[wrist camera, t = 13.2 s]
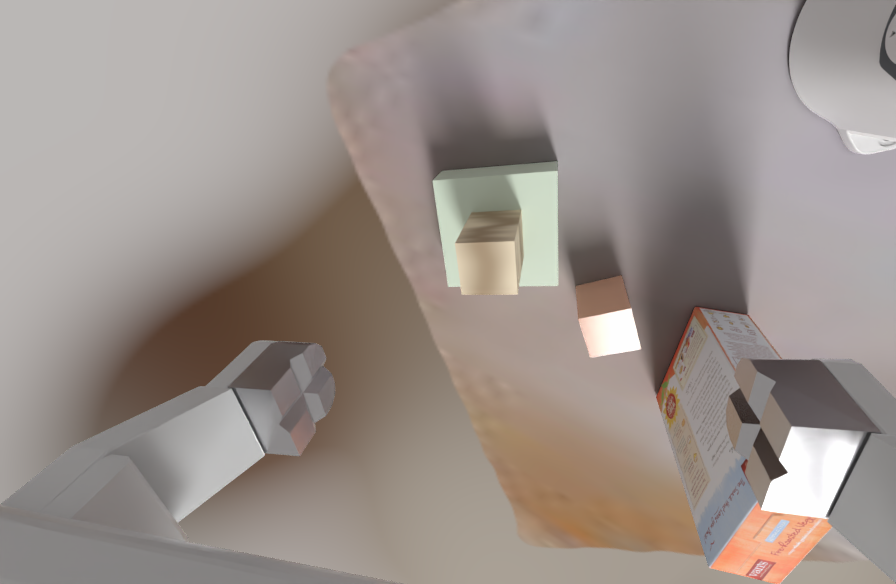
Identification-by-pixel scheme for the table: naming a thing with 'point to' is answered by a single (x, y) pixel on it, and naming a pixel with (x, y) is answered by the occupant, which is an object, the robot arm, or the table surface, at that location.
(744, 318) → the cracker box
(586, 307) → the terracotta block
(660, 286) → the table surface
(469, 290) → the beech block
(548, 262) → the sage pedestal block
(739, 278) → the table surface
